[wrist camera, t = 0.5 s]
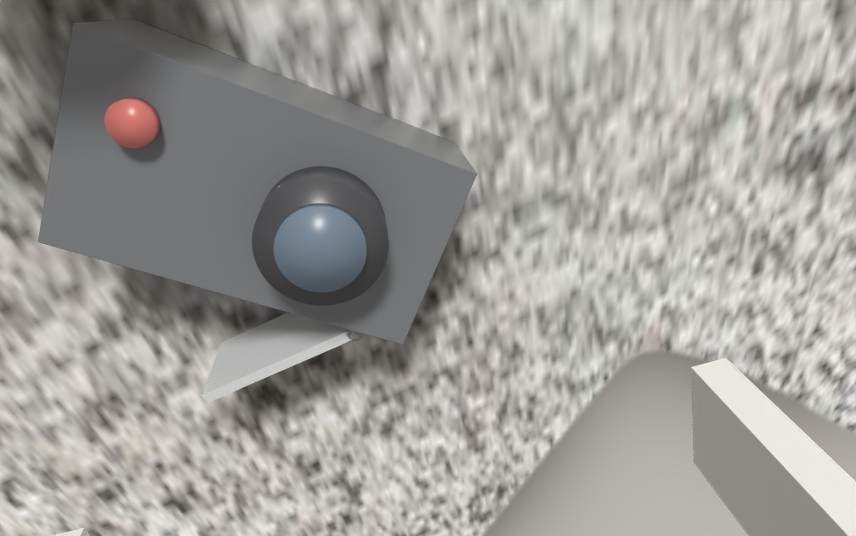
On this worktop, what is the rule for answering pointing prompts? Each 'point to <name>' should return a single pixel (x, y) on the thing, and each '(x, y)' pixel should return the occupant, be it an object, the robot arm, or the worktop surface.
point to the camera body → (246, 181)
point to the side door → (271, 351)
